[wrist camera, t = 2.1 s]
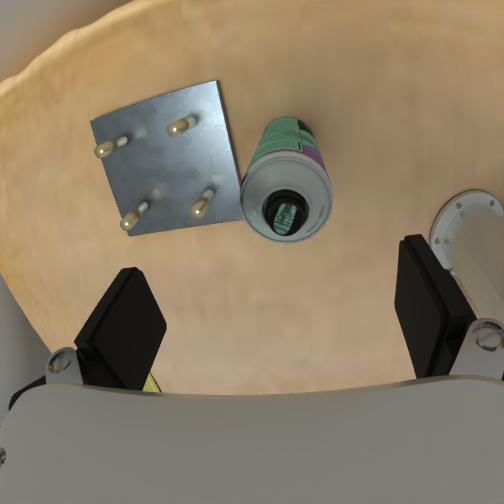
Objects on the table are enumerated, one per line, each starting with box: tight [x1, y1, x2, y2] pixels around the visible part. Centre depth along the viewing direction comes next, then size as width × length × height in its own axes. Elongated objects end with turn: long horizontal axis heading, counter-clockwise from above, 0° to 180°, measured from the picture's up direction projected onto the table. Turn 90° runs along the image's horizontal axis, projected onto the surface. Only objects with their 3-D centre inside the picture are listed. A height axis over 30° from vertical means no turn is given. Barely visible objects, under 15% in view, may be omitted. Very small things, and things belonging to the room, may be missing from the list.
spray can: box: [240, 117, 333, 244], centre depth 24 cm, size 6×6×20 cm
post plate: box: [90, 81, 244, 236], centre depth 32 cm, size 16×16×6 cm
